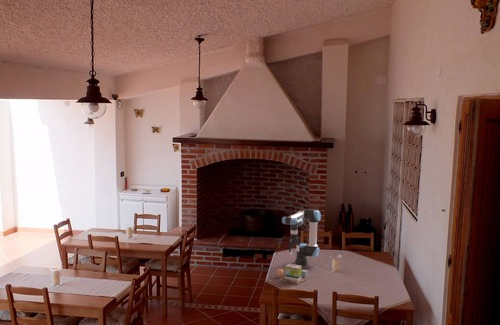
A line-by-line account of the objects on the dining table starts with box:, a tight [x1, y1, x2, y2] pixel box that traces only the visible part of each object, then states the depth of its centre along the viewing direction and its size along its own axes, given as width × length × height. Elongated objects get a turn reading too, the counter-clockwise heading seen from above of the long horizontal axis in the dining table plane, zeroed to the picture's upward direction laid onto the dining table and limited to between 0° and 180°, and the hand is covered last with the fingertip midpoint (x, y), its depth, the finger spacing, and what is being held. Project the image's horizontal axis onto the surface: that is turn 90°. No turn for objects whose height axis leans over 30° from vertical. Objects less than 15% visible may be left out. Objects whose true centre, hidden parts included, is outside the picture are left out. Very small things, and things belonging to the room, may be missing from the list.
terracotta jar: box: [276, 268, 285, 280], centre depth 477 cm, size 7×7×8 cm
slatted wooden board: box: [280, 277, 307, 286], centre depth 468 cm, size 16×20×2 cm
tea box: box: [284, 262, 303, 282], centre depth 467 cm, size 15×10×15 cm
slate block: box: [302, 268, 309, 278], centre depth 481 cm, size 6×6×6 cm
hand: (294, 253), depth 471 cm, fingers open, 13 cm apart
